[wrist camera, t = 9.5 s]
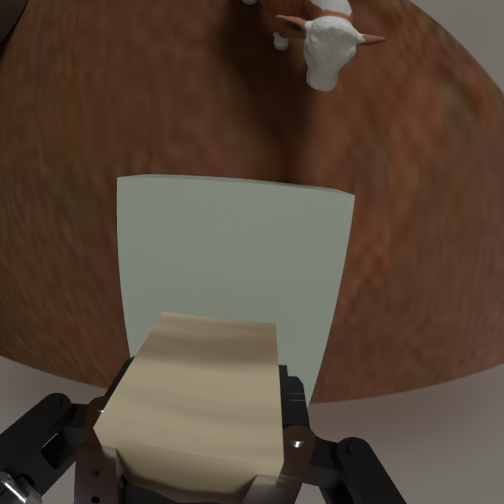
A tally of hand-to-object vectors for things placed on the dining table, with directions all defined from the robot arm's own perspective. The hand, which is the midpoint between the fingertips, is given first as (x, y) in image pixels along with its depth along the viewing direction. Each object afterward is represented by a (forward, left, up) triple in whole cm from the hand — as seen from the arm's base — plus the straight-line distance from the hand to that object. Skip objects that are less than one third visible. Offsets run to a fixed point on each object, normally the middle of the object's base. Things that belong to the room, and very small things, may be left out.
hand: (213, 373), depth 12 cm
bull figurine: (-19, +2, -8) cm, 21 cm away
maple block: (0, 0, -1) cm, 1 cm away
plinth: (0, 0, -8) cm, 8 cm away
